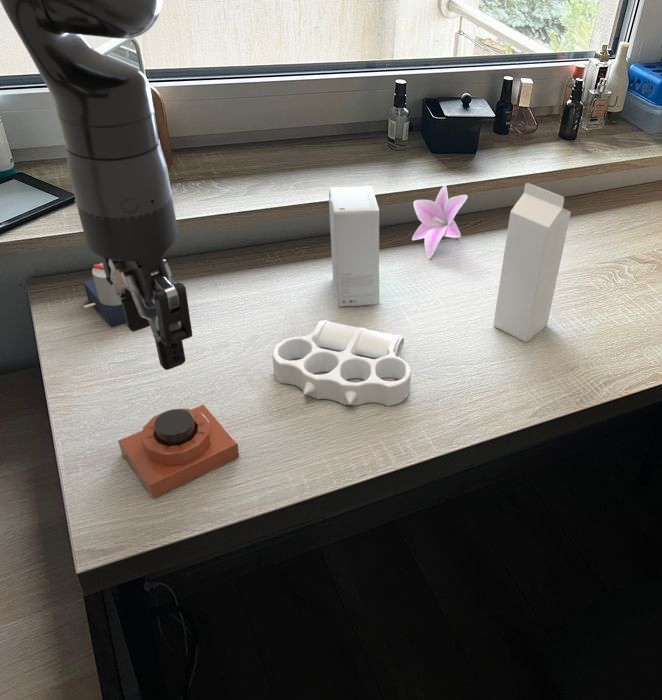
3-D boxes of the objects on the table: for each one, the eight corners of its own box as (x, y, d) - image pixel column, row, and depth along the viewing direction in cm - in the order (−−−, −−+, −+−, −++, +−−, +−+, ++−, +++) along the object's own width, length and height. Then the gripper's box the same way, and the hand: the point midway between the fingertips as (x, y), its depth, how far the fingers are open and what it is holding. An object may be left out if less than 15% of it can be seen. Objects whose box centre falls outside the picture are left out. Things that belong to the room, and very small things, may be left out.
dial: (137, 292, 99) (130, 262, 96) (120, 308, 96) (113, 278, 93) (110, 287, 100) (102, 257, 97) (92, 302, 96) (84, 272, 93)
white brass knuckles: (425, 353, 100) (396, 425, 88) (301, 328, 102) (257, 394, 90) (427, 334, 98) (397, 404, 86) (300, 308, 99) (255, 374, 88)
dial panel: (101, 341, 95) (96, 321, 93) (72, 304, 101) (66, 285, 99) (189, 310, 102) (185, 292, 100) (157, 278, 108) (154, 260, 106)
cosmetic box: (379, 306, 108) (382, 212, 98) (334, 308, 106) (332, 213, 96) (372, 275, 114) (374, 184, 104) (329, 277, 112) (327, 185, 103)
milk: (514, 309, 110) (537, 175, 97) (547, 325, 108) (576, 189, 95) (492, 326, 106) (513, 188, 93) (526, 343, 104) (553, 204, 90)
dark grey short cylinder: (166, 451, 77) (164, 440, 76) (150, 430, 79) (147, 419, 78) (202, 435, 79) (200, 424, 78) (185, 415, 81) (183, 403, 80)
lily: (413, 226, 130) (395, 190, 122) (476, 206, 128) (461, 169, 120) (422, 278, 123) (403, 244, 115) (488, 258, 122) (473, 222, 114)
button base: (153, 499, 76) (146, 473, 74) (121, 454, 81) (114, 429, 78) (239, 456, 82) (236, 431, 80) (206, 417, 86) (201, 392, 84)
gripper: (206, 216, 60) (227, 369, 70) (131, 153, 67) (160, 299, 78) (114, 241, 55) (151, 400, 66) (46, 171, 63) (88, 323, 73)
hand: (156, 345), depth 72 cm, fingers open, 7 cm apart
